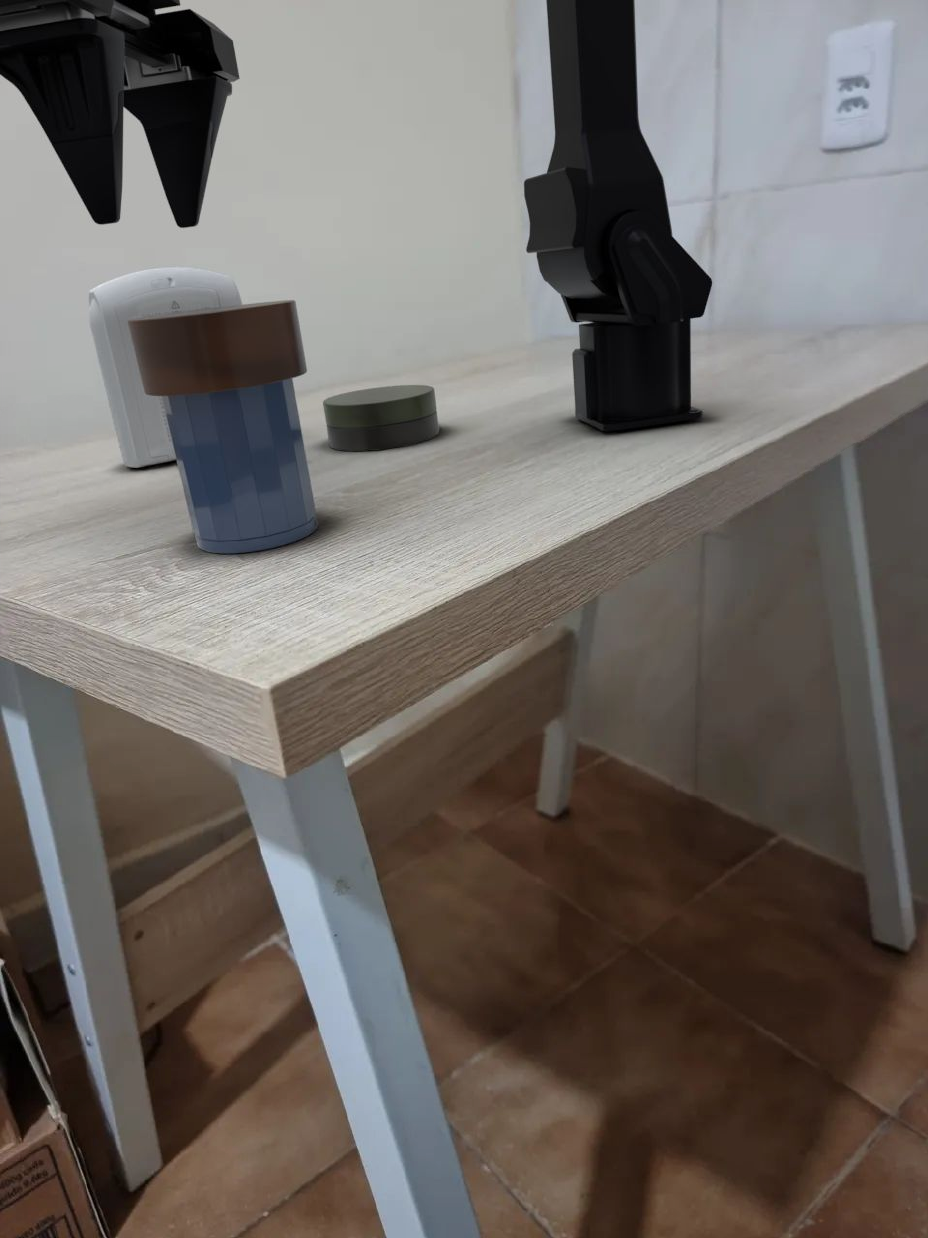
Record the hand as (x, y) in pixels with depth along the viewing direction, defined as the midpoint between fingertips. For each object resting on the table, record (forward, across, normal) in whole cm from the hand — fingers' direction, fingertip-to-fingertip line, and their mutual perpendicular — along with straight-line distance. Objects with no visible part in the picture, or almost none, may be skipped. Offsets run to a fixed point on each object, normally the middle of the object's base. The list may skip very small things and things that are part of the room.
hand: (151, 225), depth 44 cm
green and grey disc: (+14, -13, +7) cm, 21 cm away
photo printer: (+14, -13, -6) cm, 20 cm away
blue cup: (+14, +8, +6) cm, 17 cm away
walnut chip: (+7, +8, +6) cm, 12 cm away
